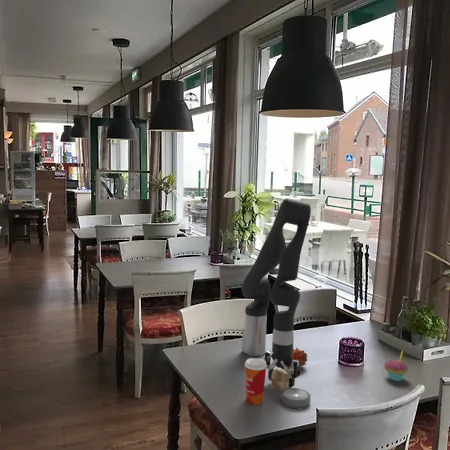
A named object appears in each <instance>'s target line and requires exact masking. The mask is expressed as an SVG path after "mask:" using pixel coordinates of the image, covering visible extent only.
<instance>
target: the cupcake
mask: <svg viewBox="0 0 450 450" xmlns="http://www.w3.org/2000/svg"><path fill="white" fill-rule="evenodd" d="M403 351H404V349H402V351H401V352H400V355H399V359H390V360H387V361H386V362H385V363H384V365H383V367H384V370H385V371H386V372H387V374H388V379H389V380H391V381H394V382H401V381H403V378H404V376H405V374H407V373H408V369H409V368H408V365H407V364H406V363H405V362H403V361H402V358H403V354H404V352H403Z"/></svg>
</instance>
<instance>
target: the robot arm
mask: <svg viewBox="0 0 450 450" xmlns="http://www.w3.org/2000/svg"><path fill="white" fill-rule="evenodd" d="M311 209H312V208H311V205H310V203H308V202H306V201H303V200H298V199H293V198H290V197H287V198H285V199H283V200H282V201H281V203H280V205H279V207H278V211H277V212H276V216H275V218H274V221H273V223H272V226H271V228H270V231H269V232H268V235H267V237H266V238H265V241H264V242H263V244H262V246H261V248H260V250H259V253H258V255H257V257H256V259H255V261H254V263H253V265H252V266H251V268H250V270H249V272H248V273H247V274H246V276H245V277H244V280H243V282H242V283H241V284H242V285H241V292H242V293H241V294H242V295H243V297H244V298H246V299H248V300H253V301H252V302H251V303H249V304H248V305H246V306H245V313H244V314H245V315H244V328H243V330H242V339H241V340H242V341H241V342H242V344H241V352H243V353H244V354H245V355H247V356H250V357H251V356H252V357H261V356H263V355H264V358H263V360H265V361H266V364H267V368H266V370H267V371H268V375H267V378H268V381H270V382H271V380H272V371H274V370H275V368H277V369H278V368H281V369H285V371H286V373H288V375H289V377H290V378H289V388H294V386H295V384H296V383H295V382H296V379H297V378H299V377H300V376H301V367H300V360H297V361H296V360H293V358H292V354H293V349H294V339H295V337H294V336H295V335H294V322H295V316H296V315H295V314H296V310H297V308H298V304H299V303H300V299H301V293H300V290H299V288H297V287H293V286H284V284H285V283H286V282H293V281H296V280H297V278H298V274H299V267H300V260H301V259H300V258H301V253H302V249H303V245H304V242H305V238H306V234H307V232H308V231H307V230H308V227H309V223H310V219H311V213H312V212H311ZM286 224H289V225H292V226H293V225H294V226H297V227H296V232H295V235H294V236H293V238H292V239H291V241H289V243H288V244H286V243H287V242H286V239H285V236H284V226H285V225H286ZM277 267H278V272H277V276H276V279H275V281H274V283H273V285H272V288H271V285H270V284H271V283H270V280H269V279H268V277H266V276H267V275H268V274H269V273H271V272H272V271H273V270H275V269H276V268H277ZM270 302H271V303H272V304H273V305H274V306H281V307H288V309H285V310H280V311H279V310H278V311H276V312H275V313H274V316H273V330H272V343H271V345H272V347H271V350H268V351H266V347H267V346H266V342H267V318H268V317H267V316H268V309H269V306H270V304H269V303H270ZM271 359H272V362H271ZM292 364H293V366H294V367H293V366H292ZM288 367H289V368H288Z"/></svg>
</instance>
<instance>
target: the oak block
mask: <svg viewBox="0 0 450 450" xmlns="http://www.w3.org/2000/svg"><path fill="white" fill-rule="evenodd" d="M273 370H274V371H272V380H271V381H270V383H271V385H270V387H271V388H273V389H275V390H278V391H280V392H282V391H283V390H285V389H288V388H289V378H290V377H289V375H288V373H286V371H285V369H281V368H278V367H277V368H276V369H273Z"/></svg>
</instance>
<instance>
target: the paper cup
mask: <svg viewBox="0 0 450 450" xmlns="http://www.w3.org/2000/svg"><path fill="white" fill-rule="evenodd" d="M244 368H245V399H246V400H245V401H246V402H247V403H248V404H250V405H255V406H257V405H260V404H262V403H263V400H264V393H265V382H266V372H267V364H266V361H265V360H264V358H263V359H262V358H261V357H258V358H257V357H253V358H252V357H250V358H248V359H246V360H245V362H244Z"/></svg>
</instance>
